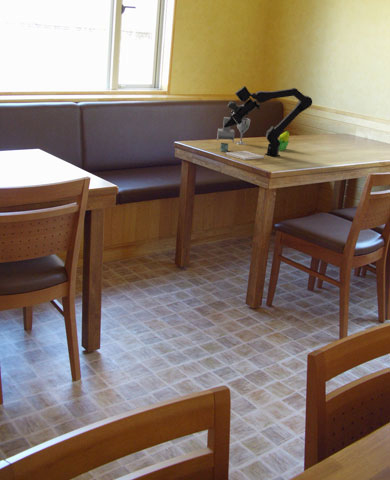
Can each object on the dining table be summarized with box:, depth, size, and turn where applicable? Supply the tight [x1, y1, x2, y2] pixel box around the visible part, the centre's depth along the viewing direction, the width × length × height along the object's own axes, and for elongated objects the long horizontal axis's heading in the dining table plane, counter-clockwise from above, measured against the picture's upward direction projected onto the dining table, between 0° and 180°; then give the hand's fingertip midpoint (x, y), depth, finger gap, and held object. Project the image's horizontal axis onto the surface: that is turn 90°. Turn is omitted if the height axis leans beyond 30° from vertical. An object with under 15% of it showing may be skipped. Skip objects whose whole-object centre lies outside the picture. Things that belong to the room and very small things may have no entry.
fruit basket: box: [278, 131, 290, 152], centre depth 363 cm, size 11×9×11 cm
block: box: [219, 142, 229, 153], centre depth 343 cm, size 4×4×4 cm
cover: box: [216, 116, 236, 143], centre depth 340 cm, size 9×9×12 cm
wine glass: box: [234, 117, 251, 146], centre depth 368 cm, size 8×8×15 cm
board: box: [225, 150, 265, 161], centre depth 334 cm, size 16×14×1 cm
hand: (224, 126), depth 339 cm, fingers closed on cover, 4 cm apart
